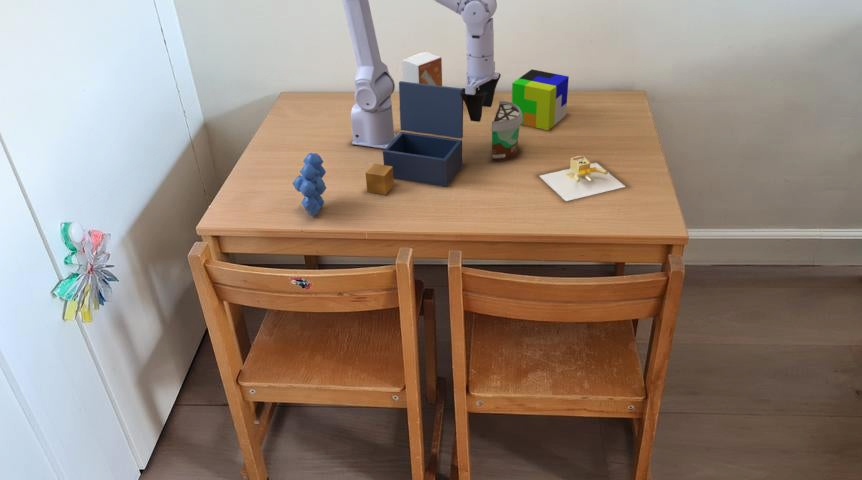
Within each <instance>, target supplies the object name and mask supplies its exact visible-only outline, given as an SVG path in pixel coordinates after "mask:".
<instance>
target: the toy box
mask: <svg viewBox="0 0 862 480" xmlns="http://www.w3.org/2000/svg"><path fill="white" fill-rule="evenodd" d="M399 133H400V134H399V135H398V136H397V137H396V138H395V139H394V140H393V141H392V142H391V143H390V144H389V145H388V146H387V147H386V148H385V149H382V159H383V165H386V166H393V175H394V180H401V181H408V182H414V183H419V184H426V185H434V186H439V187H445V188H448V187H449V185H450V184H451V182H452V181H453V180H454V178H455V177H456V176H457V174H458V172H459V171H460V170H461V169H462V167H463V166H464V159H463V158H464V157H463V155H464V153H463V140H462V139H459V138H452V137H444V136H437V135H430V134H423V133H416V132H408V131H400V132H399Z"/></svg>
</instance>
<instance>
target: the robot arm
mask: <svg viewBox="0 0 862 480" xmlns="http://www.w3.org/2000/svg"><path fill="white" fill-rule="evenodd" d="M433 1H434V2H436V3H437V4H439V5H442V6H443V7H445V8H447V9H449V10H451V11H452V12H453V13H455V14H458V15H460V16H461V18H462V20H463V22H464V23H465V28H466V30H465V39H466V40H465V41H466V43H465V44H466V83H465V85H464V87H462V88H463V91H462V92H460V96H461V97H462V98H463V103H464V104H465V106H466V110H467V113H468V117H469V119H470V121H471V122H477V123H480V122H481V120H482V116H483V108H484V107H485V108H491V107H492V106H493V102H494V97H495V93H496V89H497V85H498V83H499V80H500V78H501V77H502V76H501V73H500V72H495V71H496V61H495V52H494V51H495V33H494V32H495V31H494V17H493V16H494V15H495V13H496V11H497V7H498V3H497V0H433ZM342 3H343V8H344V12H345V17H346V21H347V26H348V31H349V35H350V38H351V44H352V48H353V52H354V56H355V61H356V65H357V70H356V73H355V77H354V85H355V90H354V101H355V103H354V104H353V106H352V108H351V111H350V123H351V124H350V125H351V133H352V142H351V145H355V146H360V147H361V146H362V147H369V148H376V149H381V150H384V149H385V148H386V147H387V146H388V145H389V144H390V143H391V142H392V141H393V140H394V139H395V138H396V137H397V136H398V135H399V134H400V132H395V128H394V116H393V104H392V103H393V102H392V94H394V92H395V90H396V83H395V80H394V78H393V77H392V75H391V74H390V71H389V68H388V65H387V64H386V63H384V62H383V61H382V59H381V58H382V57H381V53H380V48H379V44H378V39H377V34H376V29H375V26H374V25H375V24H374V20H373V15H372V11H371V6H370V1H369V0H342Z"/></svg>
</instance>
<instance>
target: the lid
mask: <svg viewBox="0 0 862 480" xmlns="http://www.w3.org/2000/svg"><path fill="white" fill-rule="evenodd" d="M463 88H464V87H454V86H445V85H442V86H437V85H429V84H420V83H412V82H403V80H402V81H399V82H398V95H399V98H398V99H399V122H400V123H399V124H400V125H399V127H400V128H399V129H400V131H402V132H410V133H417V134H424V135H431V136H439V137H446V138H453V139H460V140H462V139H463V138H464V100H463V98H462V97H461V96H460V92H462V91H463Z"/></svg>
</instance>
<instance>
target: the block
mask: <svg viewBox="0 0 862 480" xmlns="http://www.w3.org/2000/svg"><path fill="white" fill-rule="evenodd" d="M365 183H366V192H367V193H371V194H378V195H383V196H386V195H388V194H389V192H390V191H392V189H393V188H394V187H395V179H394V175H393V166H386V165H384V164H379V163H373V164H372V165H371V166H370V167H369V168H368V170H367V171H366V172H365Z"/></svg>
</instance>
